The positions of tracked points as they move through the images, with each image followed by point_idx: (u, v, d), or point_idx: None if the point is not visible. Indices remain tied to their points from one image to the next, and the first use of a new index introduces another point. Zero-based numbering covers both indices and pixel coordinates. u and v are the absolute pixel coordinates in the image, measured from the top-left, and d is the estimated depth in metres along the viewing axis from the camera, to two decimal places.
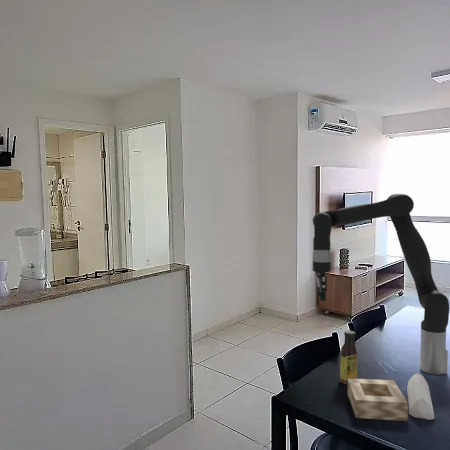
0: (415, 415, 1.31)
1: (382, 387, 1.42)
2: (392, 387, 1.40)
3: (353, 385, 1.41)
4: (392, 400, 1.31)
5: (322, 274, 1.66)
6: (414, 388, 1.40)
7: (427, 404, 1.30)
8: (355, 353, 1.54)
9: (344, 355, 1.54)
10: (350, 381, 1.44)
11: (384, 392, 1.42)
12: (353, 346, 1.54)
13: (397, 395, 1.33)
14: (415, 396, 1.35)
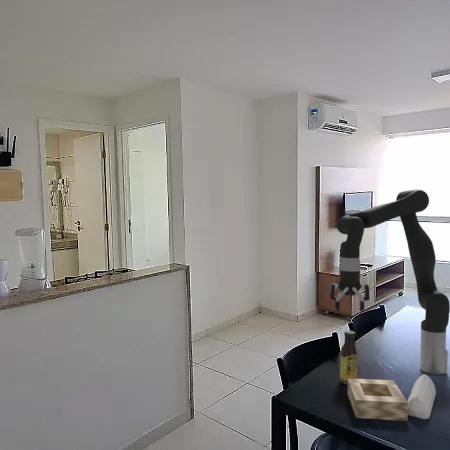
0: (409, 413, 1.32)
1: (382, 387, 1.42)
2: (392, 387, 1.40)
3: (353, 385, 1.41)
4: (392, 400, 1.31)
5: None
6: (415, 388, 1.40)
7: (421, 403, 1.30)
8: (355, 353, 1.54)
9: (344, 355, 1.54)
10: (350, 381, 1.44)
11: (384, 392, 1.42)
12: (353, 346, 1.54)
13: (397, 395, 1.33)
14: (412, 395, 1.35)
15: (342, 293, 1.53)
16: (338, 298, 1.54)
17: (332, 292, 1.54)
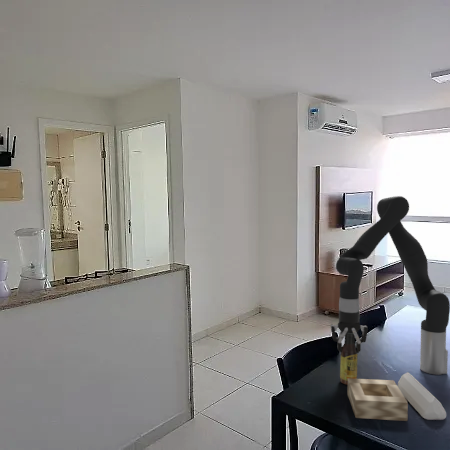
0: (429, 417, 1.29)
1: (382, 387, 1.42)
2: (392, 387, 1.40)
3: (353, 385, 1.41)
4: (392, 400, 1.31)
5: None
6: (415, 389, 1.39)
7: (440, 404, 1.29)
8: (355, 353, 1.54)
9: (344, 355, 1.54)
10: (350, 381, 1.44)
11: (384, 392, 1.42)
12: (353, 346, 1.54)
13: (397, 395, 1.33)
14: (424, 398, 1.33)
15: (343, 334, 1.54)
16: (340, 340, 1.55)
17: (333, 334, 1.55)
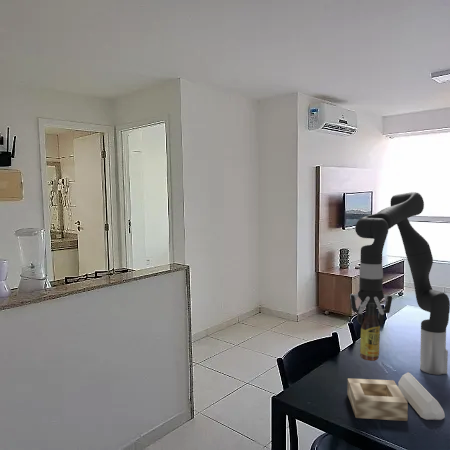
0: (427, 417, 1.29)
1: (382, 387, 1.42)
2: (392, 387, 1.40)
3: (353, 385, 1.41)
4: (392, 400, 1.31)
5: None
6: (415, 389, 1.39)
7: (438, 404, 1.29)
8: (377, 325, 1.37)
9: (365, 327, 1.38)
10: (350, 381, 1.44)
11: (384, 392, 1.42)
12: (375, 317, 1.38)
13: (397, 395, 1.33)
14: (422, 398, 1.33)
15: (364, 304, 1.38)
16: (361, 310, 1.39)
17: (353, 304, 1.39)
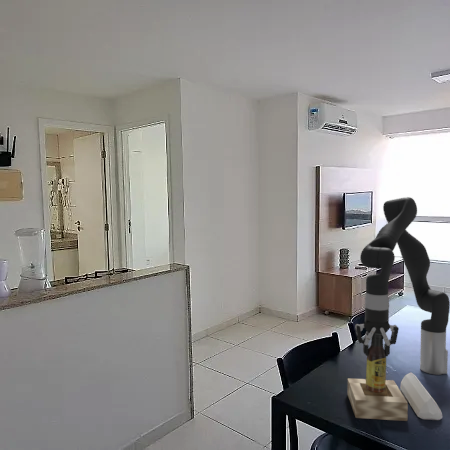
0: (424, 417, 1.30)
1: None
2: (392, 387, 1.40)
3: (353, 385, 1.41)
4: (392, 400, 1.31)
5: None
6: (414, 389, 1.40)
7: (436, 405, 1.29)
8: (384, 356, 1.35)
9: (372, 359, 1.35)
10: (350, 381, 1.44)
11: (384, 392, 1.42)
12: (381, 348, 1.35)
13: (397, 395, 1.33)
14: (420, 397, 1.34)
15: (370, 335, 1.35)
16: (367, 341, 1.36)
17: (359, 335, 1.36)
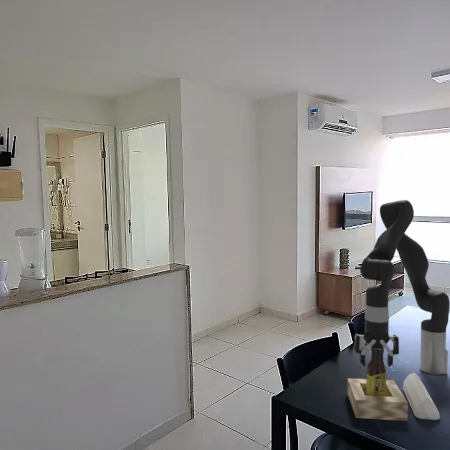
0: (421, 416, 1.30)
1: None
2: (392, 387, 1.40)
3: (353, 385, 1.41)
4: (392, 400, 1.31)
5: None
6: (414, 389, 1.40)
7: (433, 405, 1.29)
8: (384, 371, 1.35)
9: (372, 374, 1.35)
10: (350, 381, 1.44)
11: None
12: (382, 363, 1.35)
13: (397, 395, 1.33)
14: (418, 397, 1.34)
15: (368, 346, 1.36)
16: (364, 351, 1.36)
17: (357, 345, 1.37)
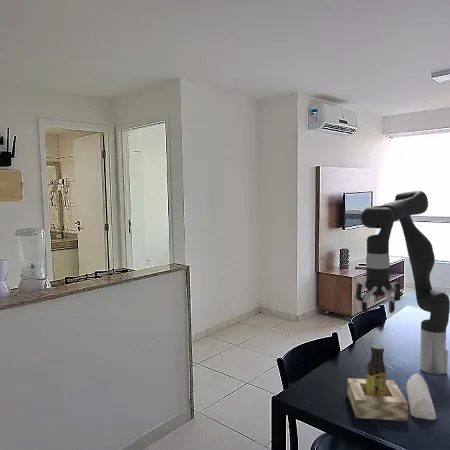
0: (417, 416, 1.31)
1: None
2: (392, 387, 1.40)
3: (353, 385, 1.41)
4: (392, 400, 1.31)
5: None
6: (414, 388, 1.40)
7: (429, 404, 1.29)
8: (384, 371, 1.35)
9: (372, 373, 1.36)
10: (350, 381, 1.44)
11: None
12: (381, 363, 1.36)
13: (397, 395, 1.33)
14: (416, 396, 1.34)
15: (370, 293, 1.38)
16: (365, 299, 1.38)
17: (359, 292, 1.38)
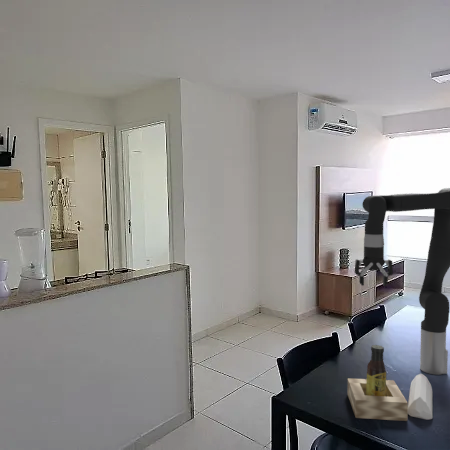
0: (412, 414, 1.31)
1: None
2: (392, 387, 1.40)
3: (353, 385, 1.41)
4: (392, 400, 1.31)
5: None
6: (414, 388, 1.40)
7: (424, 404, 1.30)
8: (384, 371, 1.35)
9: (372, 373, 1.36)
10: (350, 381, 1.44)
11: None
12: (381, 363, 1.36)
13: (397, 395, 1.33)
14: (414, 396, 1.35)
15: (367, 268, 1.61)
16: (363, 273, 1.62)
17: (357, 268, 1.62)
